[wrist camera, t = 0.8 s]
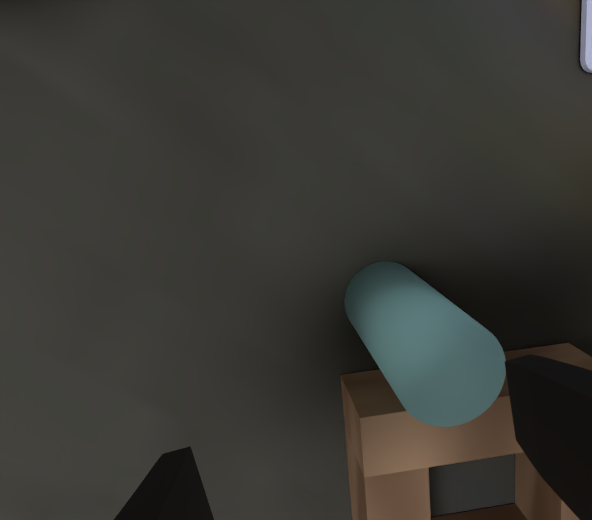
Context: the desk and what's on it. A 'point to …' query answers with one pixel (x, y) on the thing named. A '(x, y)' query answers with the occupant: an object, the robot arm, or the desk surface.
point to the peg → (425, 345)
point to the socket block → (436, 450)
